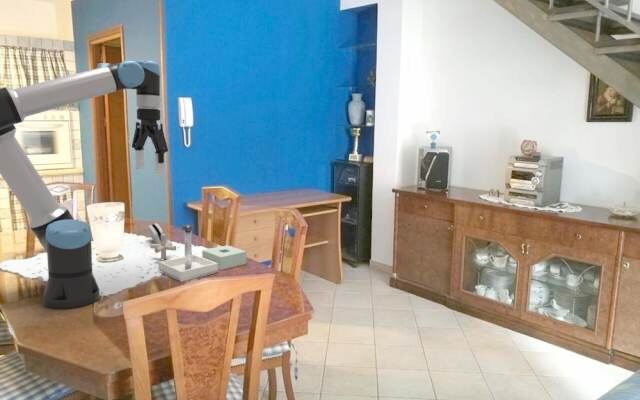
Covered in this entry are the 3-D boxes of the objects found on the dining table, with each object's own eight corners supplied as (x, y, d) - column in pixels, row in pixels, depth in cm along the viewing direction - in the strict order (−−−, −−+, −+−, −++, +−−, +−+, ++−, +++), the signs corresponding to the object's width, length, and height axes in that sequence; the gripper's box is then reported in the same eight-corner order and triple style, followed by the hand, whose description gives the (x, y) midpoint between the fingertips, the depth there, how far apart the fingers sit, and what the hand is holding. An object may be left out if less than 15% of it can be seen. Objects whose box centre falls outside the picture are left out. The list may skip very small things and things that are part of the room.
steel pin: (186, 271, 169) (186, 227, 166) (180, 269, 172) (180, 225, 169) (196, 269, 172) (196, 226, 169) (189, 266, 175) (189, 224, 172)
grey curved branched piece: (172, 247, 202) (164, 226, 199) (162, 252, 200) (153, 231, 197) (163, 238, 217) (155, 218, 213) (153, 242, 215) (145, 223, 211)
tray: (181, 281, 162) (181, 271, 161) (158, 271, 171) (158, 261, 171) (217, 272, 173) (217, 263, 172) (194, 263, 182) (194, 254, 182)
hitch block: (220, 270, 175) (220, 257, 175) (202, 262, 183) (202, 250, 182) (246, 263, 184) (246, 251, 183) (227, 257, 192) (227, 245, 191)
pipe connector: (168, 264, 179) (168, 238, 178) (144, 261, 181) (144, 236, 180) (181, 257, 189) (181, 233, 187) (158, 254, 191) (158, 230, 189)
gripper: (178, 109, 155) (178, 173, 158) (141, 108, 171) (142, 166, 175) (157, 108, 149) (158, 175, 153) (120, 107, 166) (122, 167, 169)
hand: (149, 170), depth 164 cm, fingers open, 13 cm apart
